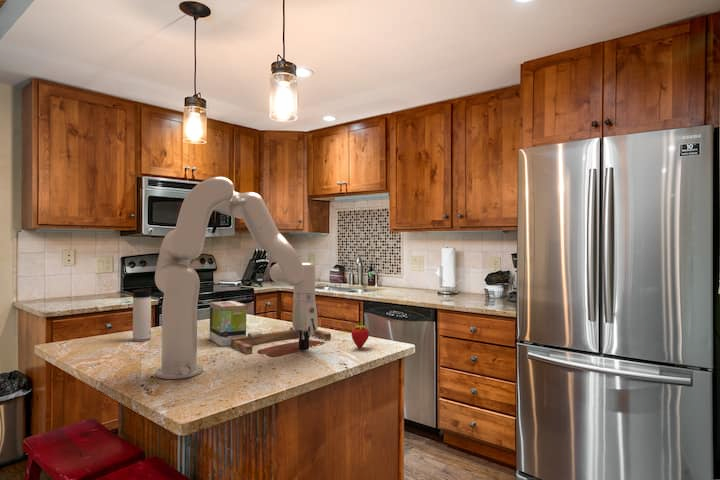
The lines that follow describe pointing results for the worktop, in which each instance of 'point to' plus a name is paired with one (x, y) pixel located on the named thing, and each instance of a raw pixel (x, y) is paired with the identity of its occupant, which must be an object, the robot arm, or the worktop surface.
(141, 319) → the travel mug
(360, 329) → the strawberry
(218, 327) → the tea box
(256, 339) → the hinge frame
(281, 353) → the wooden tablet
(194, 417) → the worktop surface
